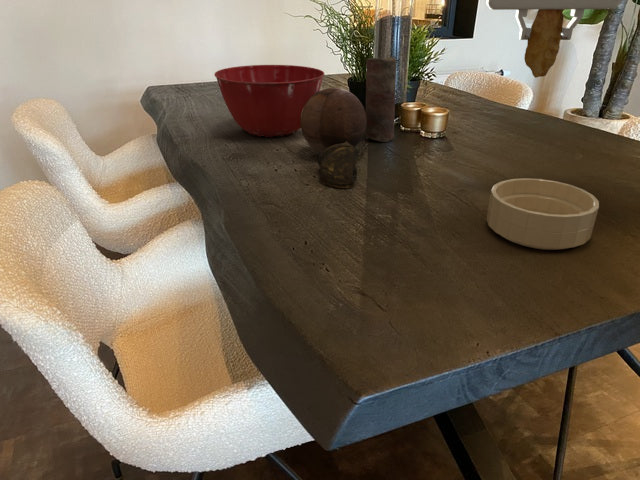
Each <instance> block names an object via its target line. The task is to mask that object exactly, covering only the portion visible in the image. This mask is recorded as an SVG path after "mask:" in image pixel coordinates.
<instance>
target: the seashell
mask: <svg viewBox="0 0 640 480" xmlns="http://www.w3.org/2000/svg"><path fill="white" fill-rule="evenodd" d="M359 153H360V150H359V148H357V146H356V147H354V146H352V145H350V144H349V143H348V142H347V141H346V142H345V143H341V144H336V145H333V146H330V147H328V148H327V149H325V150H324V151H323V152H322V153H320V154H319V155H318V158H317V164H318V166H319V173H320V178H319V181H320V184H322V185H326V186H329V187H333V188H339V189H350V188H352V187H354V186H355V183H356V181H357V175H358V168H357V156H358V154H359Z"/></svg>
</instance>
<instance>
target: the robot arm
mask: <svg viewBox="0 0 640 480" xmlns="http://www.w3.org/2000/svg"><path fill="white" fill-rule="evenodd" d="M485 2H486V6H487V7H488V8H489V9H490V10H494V11H496V10H497V11H499V10H503V11H504V10H505V11H509V10H510V11H511V10H512V11H514V10H515V19H516V23H517V24H518V27H519V35H518V39H519V40H520V41H528V40H529V39H530V33H531V30H532V29H531V27H527V25H526V22H525V20H524V18H527V17H528V11H529V10H539V9H563V10H570V17H572V18H571V19H570V21H569V23H568V24H567V25H566V27H563V29H562V32H561V40H560V41H570V40H571V39H572V36H573V31H574V29H575V28H576V26H577V25H578V24H579V23H580V22H581V20H582V19H583V18H584V14H585V10H615V9H616V8H617V7H618V6H619V5H620V4H621V3H622V2H623V0H486V1H485Z"/></svg>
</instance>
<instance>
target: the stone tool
mask: <svg viewBox="0 0 640 480" xmlns="http://www.w3.org/2000/svg"><path fill="white" fill-rule="evenodd" d="M563 12H564V9H537V12H536V16H535V18H534V19H533V22H532V24H531V26H530V28H531V29H532V30H531V33H530V39H529V40H527V44H526V47H525V53H524V63H525V65H526V66H527V67H528V68H529V69H530V71H531V74H532V76H533V77H534V78H535V79H536V78H540V77H541V78H542V77H546V76H547V75H548V72H549V70H550V69H551V67H552V66H554V65H555V63H556V60H557V57H558V54H559V51H560V45H561V44H560V43H561V41H562V40H561V32H562V29H563V28H564V25H563V24H564V19H565V18H564V13H563Z"/></svg>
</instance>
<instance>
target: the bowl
mask: <svg viewBox="0 0 640 480" xmlns="http://www.w3.org/2000/svg"><path fill="white" fill-rule="evenodd" d="M489 195H490V197H489V200H488V201H489V202H488V208H487V213H486V222H487V226H488V227H489V228H490V229H491V230H492V231H493V232H494V233H496V234H497V235H499V236H500V237H502V238H504V240H507V241H509V242H511V243H514V244H517V245H520V246H524V247H528V248H530V249H531V248H533V249H538V250H549V251H556V250H558V251H559V250H566V249H570V248H576V247H578V246H582V245H584V244H586V243H587V242H588V241H590V239H591V238H592V234H593V230H594V228H595V223H596V220H597V215H598V212H599V209H600V201H599V200H598V199H597V197H596V196H595V195H594V194H592V193H590V192H588V191H587V190H585V189H583V188H580V187H578V186H576V185H573V184H569V183H565V182H561V181H556V180H550V179H544V178H528V177H527V178H526V177H524V178H511V179H506V180H502V181H499V182H497V183H496V184H494V185H493V186H492V188H491V190H490V194H489Z"/></svg>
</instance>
